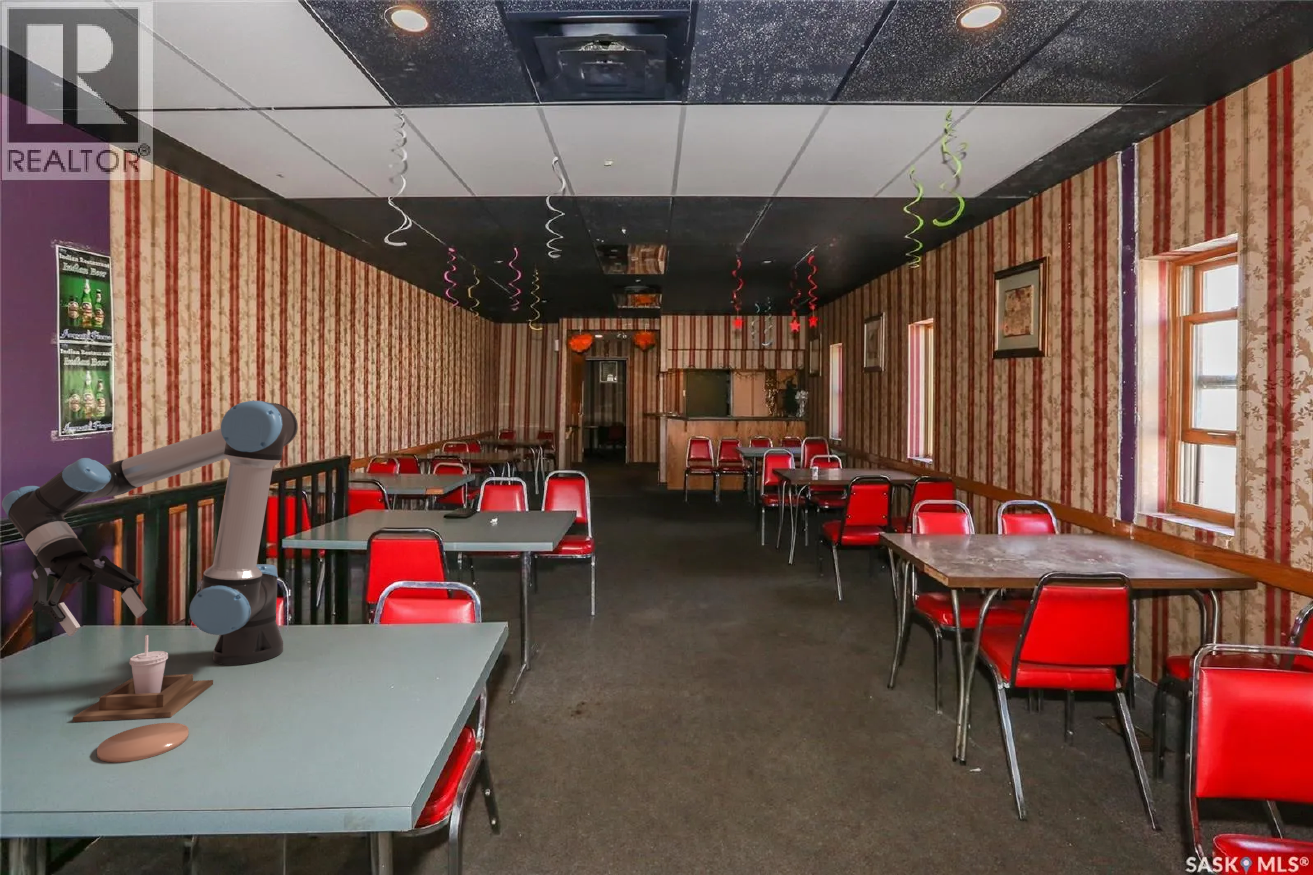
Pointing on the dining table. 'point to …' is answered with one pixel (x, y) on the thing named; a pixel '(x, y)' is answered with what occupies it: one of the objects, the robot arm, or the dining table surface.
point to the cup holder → (145, 700)
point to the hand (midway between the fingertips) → (110, 622)
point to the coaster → (142, 742)
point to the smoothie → (148, 670)
